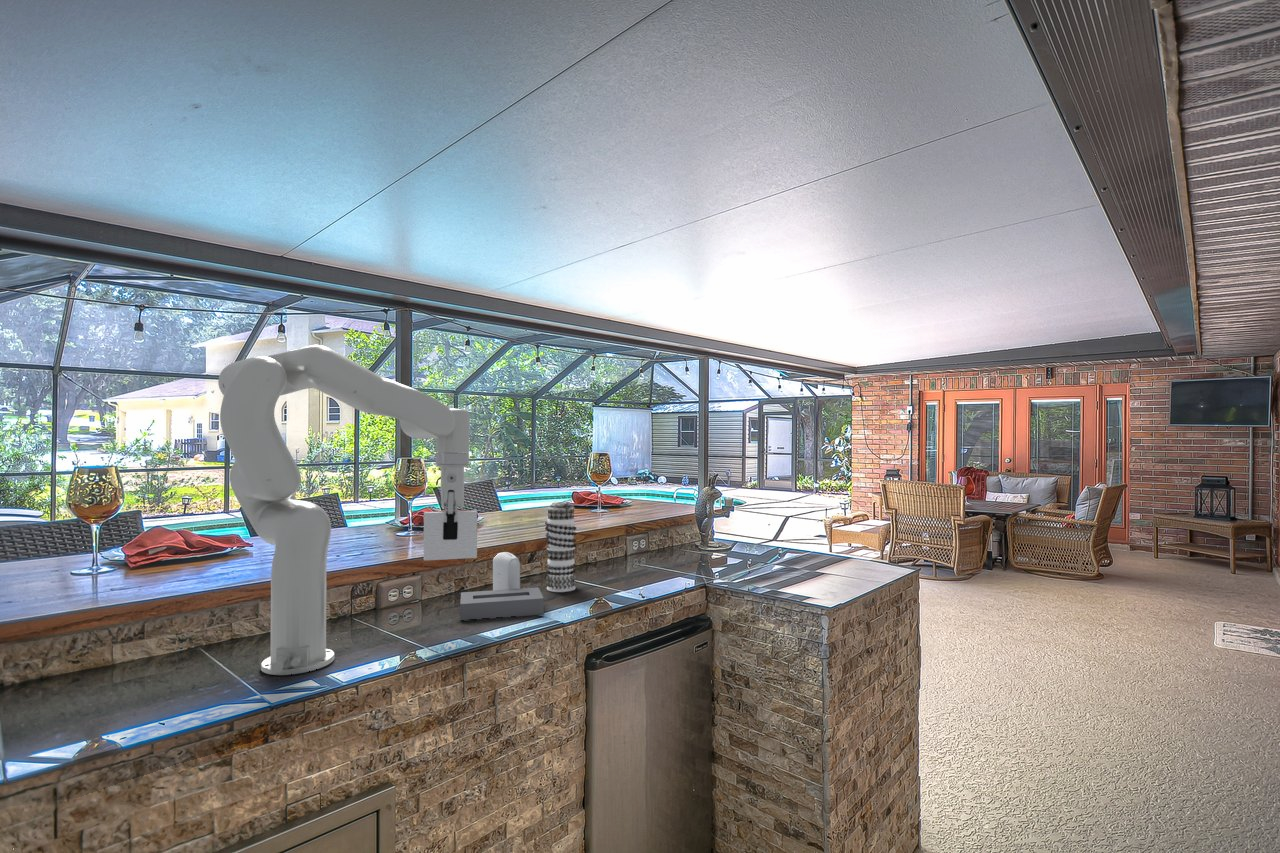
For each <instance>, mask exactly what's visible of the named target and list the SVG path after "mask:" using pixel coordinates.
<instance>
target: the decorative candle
mask: <svg viewBox="0 0 1280 853" xmlns="http://www.w3.org/2000/svg"><path fill="white" fill-rule="evenodd" d="M574 510H575V507H574V506H573V504H572V503H571V502H566V501H565V502H563V501H557V502H552V503H551V504H550V506H549V507H547V522H546V521H545V523H544V524H545V525H546V526H545V531H546V532H547V533H545V537H546V539H545V543H547V545H546V546H545V548H546V550H547V564H546V566H545V567H546V568H547V570H546V574H547V576H546V577H545V579H546V583H545V584H546V586H547V587H546V591H548V592H551V593H552V592H553V593H565V592H572V591H574V590H576V586H575V585H576V584H577V582H576V578H577V576H576V575H575V573H576V570H577V569H575V568H576V564H575V556H574V555H575V553H574V552H575V550H576V547H577V544H575V543H576V542H577V539H576V538H574V537H575V536H576V535H577V532H575V531H576V530H577V526H575V525H574V524H575V513H574V512H575V511H574Z"/></svg>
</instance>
